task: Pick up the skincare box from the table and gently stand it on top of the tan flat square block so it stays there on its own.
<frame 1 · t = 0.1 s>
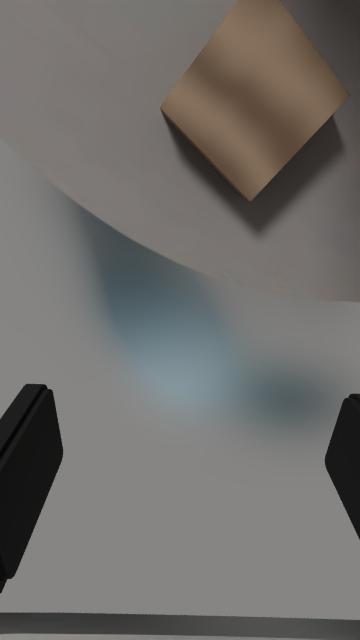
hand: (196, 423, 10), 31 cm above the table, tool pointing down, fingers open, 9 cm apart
tan flat square block: (244, 110, 33), on the table
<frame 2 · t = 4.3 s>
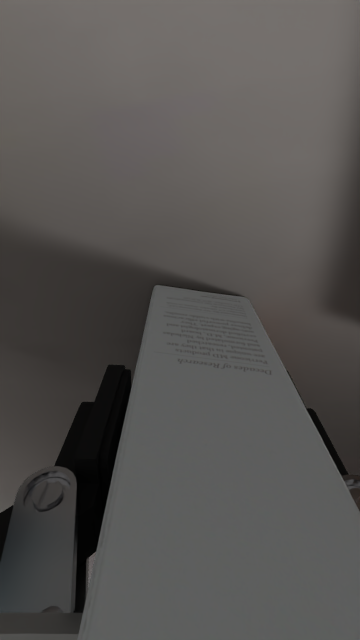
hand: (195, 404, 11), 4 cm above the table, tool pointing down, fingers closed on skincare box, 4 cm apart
skincare box: (192, 345, 15), on the table, touching gripper
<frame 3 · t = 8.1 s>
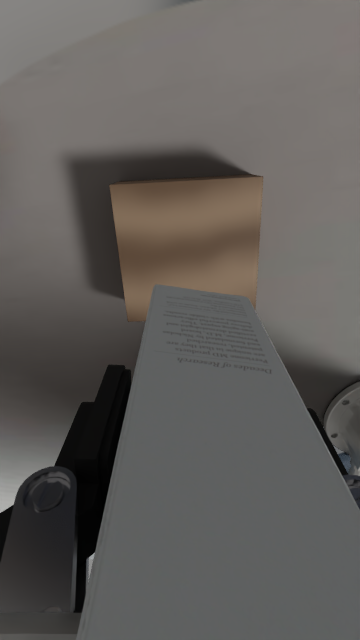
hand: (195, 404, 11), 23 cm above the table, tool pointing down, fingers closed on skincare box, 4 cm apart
skincare box: (192, 344, 15), point 19 cm above the table, touching gripper
tan flat square block: (187, 243, 32), on the table
when the fingers open (9 cm above the table, at t = 11.9 s): skincare box stays where it is, resting on tan flat square block.
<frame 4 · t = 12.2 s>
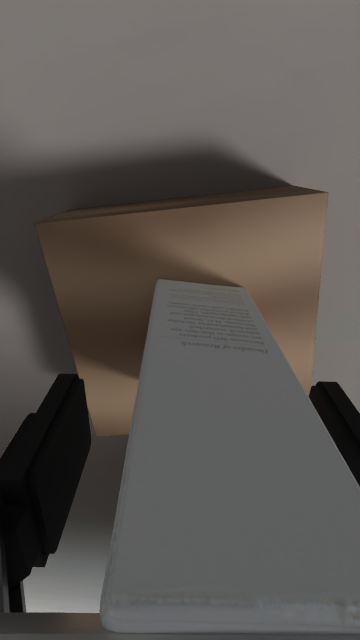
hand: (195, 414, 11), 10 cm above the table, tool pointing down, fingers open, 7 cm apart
skincare box: (194, 335, 16), point 4 cm above the table, touching tan flat square block
tan flat square block: (189, 298, 20), on the table, touching skincare box
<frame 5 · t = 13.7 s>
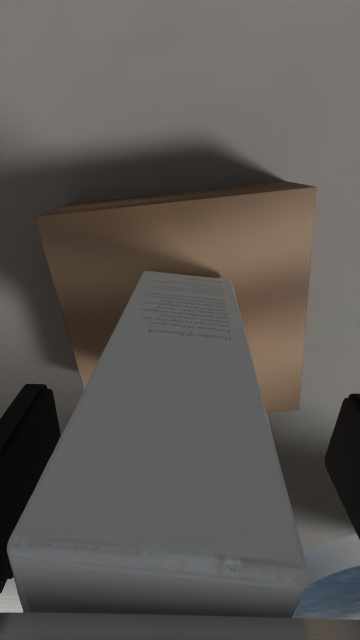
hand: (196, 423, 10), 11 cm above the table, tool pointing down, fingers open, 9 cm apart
skincare box: (183, 326, 16), point 4 cm above the table
tan flat square block: (184, 291, 21), on the table
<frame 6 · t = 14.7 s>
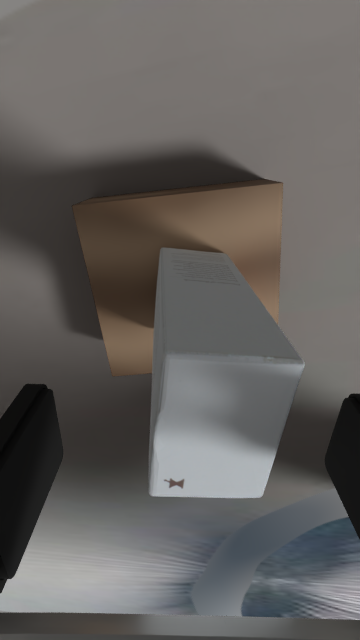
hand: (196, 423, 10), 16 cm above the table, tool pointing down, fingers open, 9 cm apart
skincare box: (189, 292, 21), point 4 cm above the table
tan flat square block: (185, 269, 25), on the table
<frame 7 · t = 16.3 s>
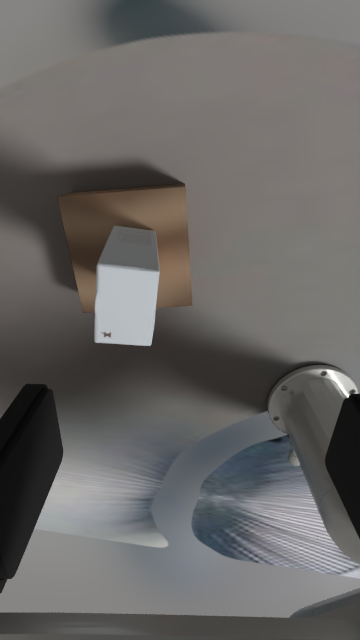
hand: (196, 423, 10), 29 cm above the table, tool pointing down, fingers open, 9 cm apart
skincare box: (133, 255, 32), point 5 cm above the table
tan flat square block: (135, 243, 37), on the table
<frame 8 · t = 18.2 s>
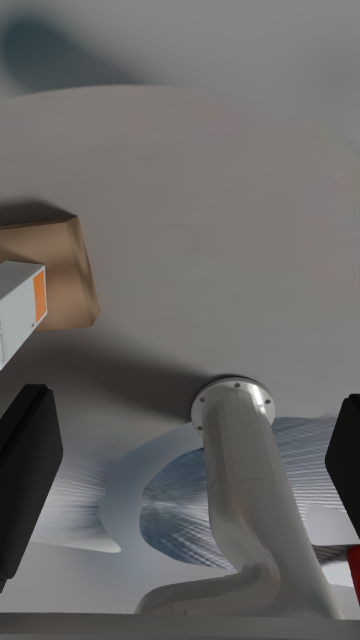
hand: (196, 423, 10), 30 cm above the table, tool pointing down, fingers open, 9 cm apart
skincare box: (29, 286, 36), point 4 cm above the table, touching tan flat square block
tan flat square block: (44, 270, 40), on the table, touching skincare box
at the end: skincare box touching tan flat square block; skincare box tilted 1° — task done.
